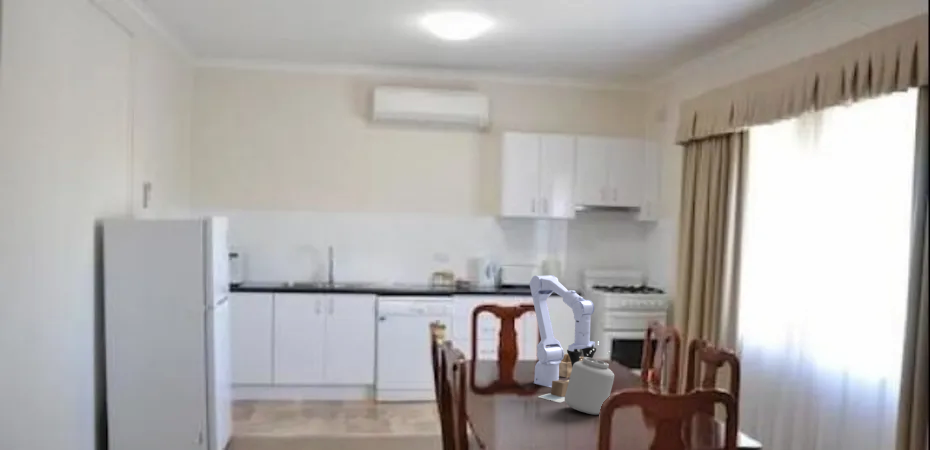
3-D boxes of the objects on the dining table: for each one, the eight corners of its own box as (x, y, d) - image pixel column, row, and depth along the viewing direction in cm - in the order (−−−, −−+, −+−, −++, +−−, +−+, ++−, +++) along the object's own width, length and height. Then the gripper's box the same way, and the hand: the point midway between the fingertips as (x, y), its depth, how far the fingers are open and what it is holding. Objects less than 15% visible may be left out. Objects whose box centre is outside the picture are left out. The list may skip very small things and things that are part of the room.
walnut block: (552, 380, 282) (560, 380, 286) (551, 394, 282) (559, 393, 286) (562, 383, 279) (570, 382, 282) (561, 396, 279) (569, 395, 282)
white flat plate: (537, 397, 279) (537, 396, 279) (549, 394, 284) (549, 393, 284) (559, 402, 272) (559, 401, 272) (570, 399, 277) (570, 398, 277)
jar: (611, 406, 269) (614, 337, 268) (623, 418, 255) (626, 345, 254) (560, 406, 268) (562, 336, 267) (569, 418, 253) (572, 345, 252)
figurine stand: (544, 372, 320) (544, 358, 319) (567, 367, 331) (567, 353, 331) (566, 377, 311) (567, 363, 311) (589, 372, 322) (589, 358, 322)
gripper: (579, 335, 275) (578, 372, 276) (602, 331, 286) (600, 366, 286) (564, 332, 280) (563, 368, 281) (587, 329, 291) (585, 363, 291)
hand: (581, 367), depth 284 cm, fingers open, 7 cm apart
